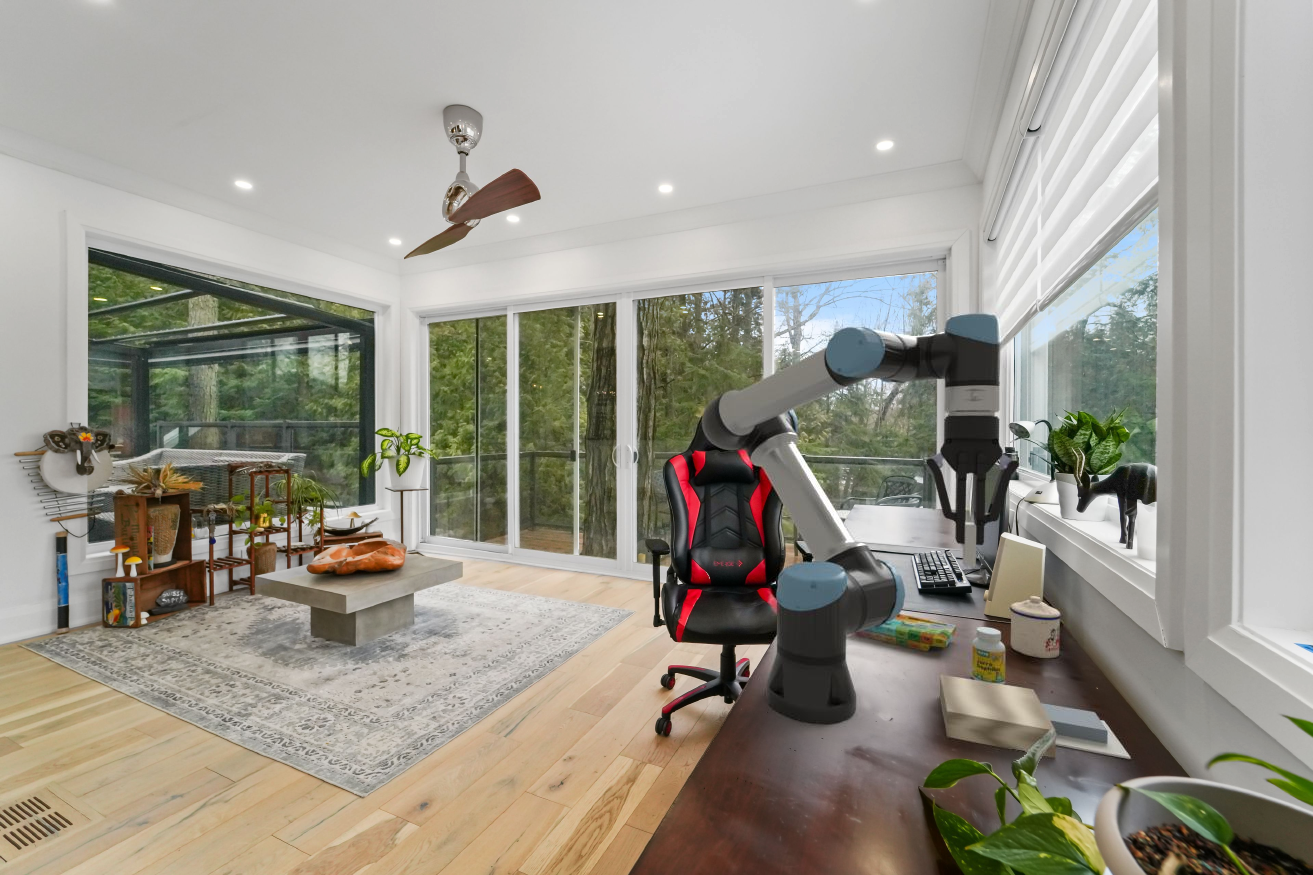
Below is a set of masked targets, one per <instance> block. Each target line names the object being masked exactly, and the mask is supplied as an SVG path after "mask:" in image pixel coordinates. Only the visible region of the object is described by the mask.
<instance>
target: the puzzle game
mask: <svg viewBox="0 0 1313 875" xmlns="http://www.w3.org/2000/svg"><path fill="white" fill-rule="evenodd" d="M957 627H958V626H957V625H955V624H950V623H947V622H940V621H937V620H931V619H928V618H927V619H926V618H921V617H917V616H912V615H908V614H903V613H899V615H898V616H897V617H896V618H894V619H893V620H891V621H889V622H887V623H885V624H883V625H882V626H879V627H872V628H868V629H865V630H862V631H859V632H855V633H854V634H855V635H856V636H858V637H863V638H867V639H872V640H876V641H880V642H884V643H889V644H892V645H893V644H894V645H899V646H902V647H906V648H910V649H915V650H920V651H924V652H927V651H929V650H930V649H931V647H932V646H933V647H939V648H946V647H947V646H948V644H949V643H950V641H951V640H952V638H953V636H954V635H955V634H956V632H957V629H958V628H957Z"/></svg>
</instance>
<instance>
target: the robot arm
mask: <svg viewBox="0 0 1313 875" xmlns="http://www.w3.org/2000/svg"><path fill="white" fill-rule="evenodd" d="M1000 323H1001V322H1000V319H999V317H997V316H996V315H995V314H991V313H987V312H986V313H985V312H978V313H977V312H975V313H973V312H972V313H964V314H958V315H955V316H951V317H949V318H947V320H946V322H945V327H944V331H942V332H938V333H933V334H925V335H916V336H915V335H914V336H913V335H905V334H899V333H894V332H887V331H883V330H882V331H881V330H877V329H871V328H868V327H864V326H861V327H857V326H856V327H853V326H852V327H850V326H849V327H844V328H841V329H839V330H838V331H835V333H834V334H833V336H832V337H831V338H830V339H829V340H828V343H827V346H826V347H825V348H822V349H821V350H819V351H816V352H814V353H813V354H811V355H808V356H807V357H805V358H802V359H800V360H799V361H797V362H795V363H792V364H791V365H789V366H787V367H784V368H782V369H780V370H779V371H776V372H775V373H773V374H771V375H768V376H767V377H764V378H763V379H761V380H759V381H757V382H755V383H753V384H751V385H749V386H747V387H745V388H742V389H741V390H734V389H733V390H729V391H726V392H724V393H722V394H720V395H719V396H717V397H716V398H714V399H712V400H711V401H710V402H709V403H708V404H707V405H706V407H705V408H704V411H703V412H702V418H701V426H702V431H703V433H704V436H705V437H706V438H707V440H708V441H709V442H710V443H711V444H712V445H714V446H716V447H717V448H720V449H722V450H727V451H744V452H745V453H746V455H747V457H748V458H749V461H750V462H751V464H752V465H754V466H755V467H761V468H762V469H763V471H764V473H765V474H766V476H767V478H768V479H769V482H770V483H771V486H772V487H773V489H774V491H775V493H776V494H777V495H778V497H779V499H780V501H781V503H782V505H783V506H784V508H785V510H786V511H787V514H788V515H789V516H790V519H791V520H792V522H793V524H794V525H795V527H796V530H797V531H798V533H799V535H800V536H801V538H802V540H803V541H804V543H805V545H806V547H807V548H808V550H809V552H810V554H811V556H812V558H813V559H814V560H813V561H810V562H809V561H802V562H797V563H793V564H789V565H788V566H786V567H785V568H783V569H782V571H780V573H779V575H778V578H777V588H776V592H775V593H776V594H775V596H776V654H775V657H774V661H773V663H772V666H771V669H770V672H769V675H768V678H767V681H766V687H765V688H766V689H765V690H766V694H765V696H766V697H765V698H766V701H767V702H768V705H770V706H771V707H772V708H773V709H774V710H776V711H777V712H779V713H780V714H782V715H784V716H786V717H789V718H792V719H795V720H798V721H803V722H807V723H815V724H830V723H831V724H832V723H839V722H842V721H845V720H848V719H849V718H851V717H852V716H854V714H855V713H856V711H857V693H856V688H855V686H854V682H853V679H852V677H851V673H850V671H849V670H850V669H849V666H848V664H847V636H849V635H851V634H856V633H855V632H859V631H862V630H865V629H868V628H872V627H879V626H882V625H883V624H885V623H887V622H889V621H891V620H893V619H894V618H896V617H897V616H898V615H899V614H901V612H902V610H903V608H904V605H905V597H906V589H905V584H904V580H903V577H902V576H901V574H900V573H899V571H898V569H896V568H895V567H894V566H893V565H892V564H891V563H889V562H887V561H884V560H882V559H879V558H877V559H876V557H875V555H874V554H873V552H872V551H871V549H870V548H869V546H868V545H867V544H866V543H863V542H860V541H859V542H858V541H856V540H855V539H854V537H853V535H852V534H851V533H850V531H849V529H848V528H847V526H846V524H845V523H844V521H843V520H842V518H841V516H840V515H839V514H838V512H837V510H836V508H835V507H834V505H833V503H832V502H831V501H830V499H829V497H828V495H827V494H826V492H825V491H824V489H823V488H822V486H821V484H820V482H819V481H818V479H817V478H816V477H815V475H814V473H813V472H812V470H811V468H810V466H809V465H808V463H807V462H806V460H805V459H804V457H803V455H802V454H801V452H800V451H799V449H798V448H797V447H798V444H799V442H800V439H799V436H798V434H799V427H797V426H798V425H799V421H798V417H797V415H796V413H795V409H798V408H799V407H800V408H801V407H802V406H804V405H807V404H809V403H812V402H814V401H816V400H819V399H821V398H823V397H827V396H829V395H830V394H832V393H836V392H837V391H840V390H842V389H844V388H847V387H851V386H852V385H855V384H857V383H859V382H863V381H864V380H867V379H880V381H882V382H884V383H894V384H895V383H900V384H905V383H907V382H917V381H927V380H930V381H931V380H944V406H943V407H944V410H943V411H944V412H945V413H947V414H948V415H947V416H945V418H944V420H943V422H944V424H943V428H944V430H943V444H942V446H941V448H940V450H939V453H937V454H935V455H933V456H931V457H927V458H926V459H925V463H926V465H927V467H928V468H929V469H930V470H931V471H930V472H932V475H933V480H934V483H935V488H936V491H937V496H938V501H939V504H940V507H941V508H940V509H941V511H942V514H943V517H944V518H945V519H948V520H951V521H953V522H954V523H955V527H954V528H955V534H954V536H955V541H956V543H957V544H960V545H961V544H962V564H963V565H964V567H967V568H968V567H969V568H976V563H977V559H976V558H977V546H983V545H984V543H985V525H987V524H989V523H991V522H997V521H998V520H999V517H1000V514H1001V510H1002V507H1003V504H1004V501H1005V497H1006V496H1007V495H1006V494H1007V492H1008V488H1009V484H1010V482H1011V478H1012V476H1013V474H1014V473H1015V472H1016V470H1018V468H1019V467H1020V461H1018V460H1016V459H1012V458H1010V457H1008V455H1006V454H1004V451H1003V450H1004V449H1003V448H1002V446H1001V445H1000V417H999V416H997V415H996V413H998V412H999V411H1000V392H1001V391H1000V383H1001V382H1000V372H1001V371H1000V370H1001V351H1002V350H1001V349H1002V348H1001V347H1002V344H1003V343H1002V341H1001V340H1002V339H1001V338H1002V337H1001V324H1000ZM943 460H945V461H946V463H947V465H949V467H950V469H951V470H953V471H954V472H955V509H954V510H955V511H954V510H953V511H952V506H951V503H950V498H949V494H948V490H947V486H946V483H945V479H944V476H943V472H942V468H943V467H944V463H943ZM998 462H999V464H998V468H999V469H1000V471H999V473H998V476H997V480H996V483H995V487H994V490H993V493H992V495H991V496H992V497H991V500H990V503H989V506H988V509H987V512H986V479H987V473H988V472H989V471H990V470H991V469H992V468H993V467H994V466H995V465H996V464H997V463H998ZM970 474H973V480H974V481H973V520H974V521H973V522H972V521H971V522H970V521H968V522H966V514H967V513H966V512H967V478H968V475H970Z"/></svg>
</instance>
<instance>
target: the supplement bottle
mask: <svg viewBox="0 0 1313 875" xmlns="http://www.w3.org/2000/svg"><path fill="white" fill-rule="evenodd" d="M1001 632H1002V631H1000V630H999V629H996V628H993V627H986V626H979V627H976V637H975V638H974V640H973V641H972V659H971V660H972V671H971V673H972V674H971V675H972V678H973V680H977V681H984V682H990V683H996V684H1003V685H1005V684H1006V646H1005V644H1004V643H1003V642H1002V641H1001V640H1002V633H1001Z"/></svg>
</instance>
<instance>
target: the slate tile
mask: <svg viewBox="0 0 1313 875" xmlns="http://www.w3.org/2000/svg"><path fill="white" fill-rule="evenodd" d="M1040 703H1041V705H1042V706H1043V708H1044V710H1045V712H1046V714H1047V716H1048V717H1049V719H1050V721H1051V723H1052V725H1053V727H1054V728H1055V730H1056V733H1057V735H1062V736H1068V737H1073V738H1079V739H1084V740H1090V741H1095V742H1100V743H1106V744H1107V742H1108V730H1107V729H1106V728H1105V726H1104V725H1103V723H1102V722H1101V721H1100V717H1099V716H1098V715H1097V713H1096V712H1095V711H1090V710H1084V709H1078V708H1077V709H1076V708H1072V707H1066V706H1060V705H1054V704H1047V703H1042V702H1040Z"/></svg>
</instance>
